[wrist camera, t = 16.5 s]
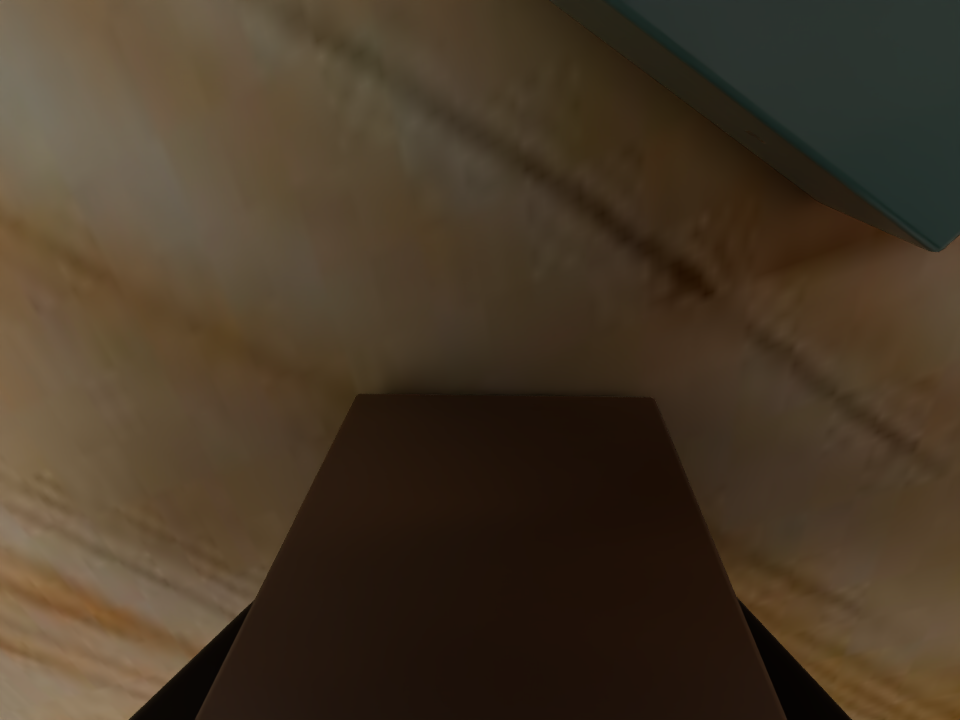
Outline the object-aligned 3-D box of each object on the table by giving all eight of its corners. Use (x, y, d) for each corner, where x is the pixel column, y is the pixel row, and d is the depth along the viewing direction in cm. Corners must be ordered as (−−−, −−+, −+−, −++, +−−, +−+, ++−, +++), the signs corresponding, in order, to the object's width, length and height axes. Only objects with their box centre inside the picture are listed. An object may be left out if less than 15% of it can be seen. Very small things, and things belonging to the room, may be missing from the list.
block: (655, 394, 8) (821, 788, 4) (624, 601, 10) (706, 1007, 6) (355, 391, 8) (173, 750, 4) (386, 592, 10) (290, 973, 6)
